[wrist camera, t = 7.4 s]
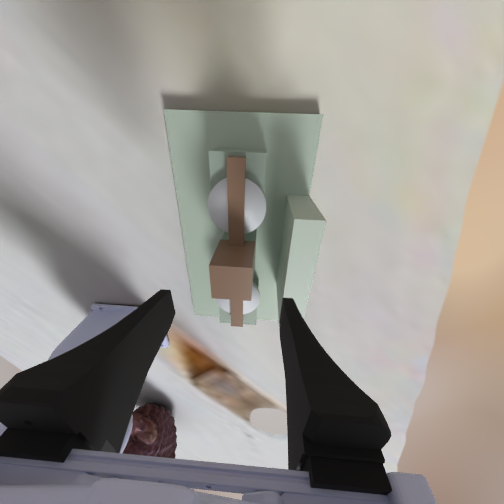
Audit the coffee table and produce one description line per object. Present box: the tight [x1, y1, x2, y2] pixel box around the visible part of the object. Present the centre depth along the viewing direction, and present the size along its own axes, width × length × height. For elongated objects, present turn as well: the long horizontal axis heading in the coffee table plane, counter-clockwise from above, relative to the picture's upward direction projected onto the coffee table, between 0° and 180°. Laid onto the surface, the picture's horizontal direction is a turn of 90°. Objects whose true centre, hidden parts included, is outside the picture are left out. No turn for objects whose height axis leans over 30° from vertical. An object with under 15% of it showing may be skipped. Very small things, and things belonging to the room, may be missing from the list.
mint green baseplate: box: [164, 109, 326, 327], centre depth 19 cm, size 12×22×7 cm, turn 178°
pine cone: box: [122, 403, 177, 459], centre depth 39 cm, size 18×10×10 cm, turn 14°
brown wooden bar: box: [208, 156, 266, 327], centre depth 16 cm, size 4×16×4 cm, turn 178°
